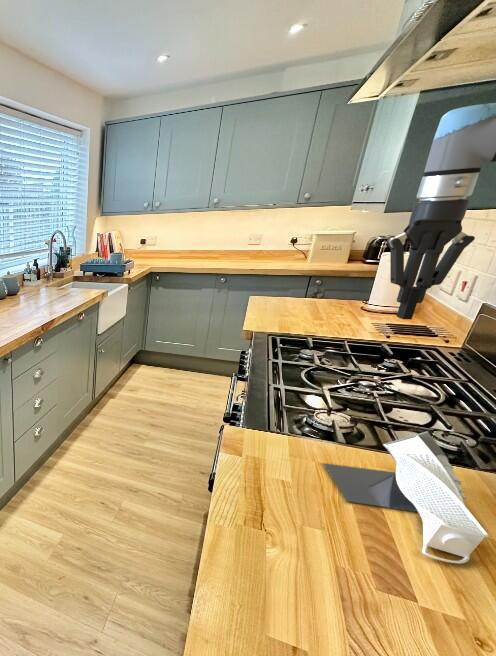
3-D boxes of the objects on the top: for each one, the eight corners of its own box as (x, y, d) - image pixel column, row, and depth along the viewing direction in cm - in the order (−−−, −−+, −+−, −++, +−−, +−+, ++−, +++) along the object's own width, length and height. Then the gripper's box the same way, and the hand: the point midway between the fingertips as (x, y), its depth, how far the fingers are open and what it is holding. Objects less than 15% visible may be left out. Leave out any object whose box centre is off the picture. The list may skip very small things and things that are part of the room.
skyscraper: (393, 472, 86) (441, 579, 65) (371, 442, 86) (411, 539, 64) (448, 459, 80) (519, 570, 59) (424, 426, 80) (487, 526, 59)
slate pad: (401, 474, 84) (401, 473, 84) (438, 515, 73) (439, 514, 73) (323, 464, 88) (323, 463, 88) (347, 502, 77) (347, 501, 77)
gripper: (409, 201, 80) (374, 321, 89) (501, 196, 76) (454, 322, 85) (390, 201, 87) (358, 313, 95) (473, 197, 82) (432, 314, 91)
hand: (403, 317), depth 90 cm, fingers closed
